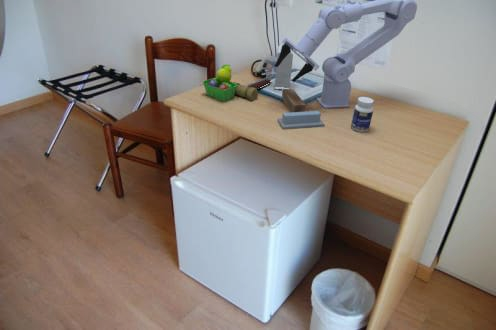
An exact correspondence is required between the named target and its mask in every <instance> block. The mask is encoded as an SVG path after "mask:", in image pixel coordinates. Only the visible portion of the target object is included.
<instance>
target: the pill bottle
mask: <svg viewBox="0 0 496 330" xmlns="http://www.w3.org/2000/svg"><path fill="white" fill-rule="evenodd" d="M373 105H374V99H373V98H370V97H367V96H359V97H358V99H357V104H356V105H355V106H354V110H353V115H352V120H351V124H350V126H351V129H352V130H353V131H355V132H359V133H366V132H368V131H369V130H370V126H371V123H372V119H373V113H374V107H373Z"/></svg>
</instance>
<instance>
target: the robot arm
mask: <svg viewBox="0 0 496 330" xmlns="http://www.w3.org/2000/svg"><path fill="white" fill-rule="evenodd" d="M417 9H418V3H417V2H416V1H415V0H371V1H369V2H366V3H362V4H361V3H360V2H359V1H355V0H350V1H349V3H345V4H341V5H340V4H336V5H335V6H334V7H333V6H325V7H324V8H323V9H320V10H319V12H318V17H317V19H316V21H315V22H314V24H313V25H312V26H311V27H310V28H309V29H308V31H307V32H306V33H305V34H304V36H303V37H302V38H301V39H300V41H299V42H298V43H297V44H294V43H293V42H292V41H291V40H290V39H288V38H287V37H284V39H283V40H282V43H283V44H282V45H281V46H282V49H281V52H280V55H279V58H278V60H277V59H276V62H275V64H274V67H275V68H276V67H278V66H279V65H280V64H281V62H282V61H283V60H284V58H285V57H286V56H287V55H288V54H289V53H290V52H291V50H292V51H293V54H295V55H296V56H298V57H299V58H300V59H301V60H302V61H304V62H305V63H304V65H303V66H302V68H301V69H300V70H299V72H297V74H296V75H294V77H293V78H292V80H291V82H293V83H295V82H296V81H297V80H298V79H300V78H301V77H303V76H305V75H306V74H309V73H310V72H313V71H315V72H316V71H317V70H318V69H319V68H320V65H319V64H318V63H317V62H315V60H313V58H311V56H312V55H313V53H315V51H316V50H317V49H318V48H319V46H320V45H321V44H322V43H323V42H324V40H325V39H326V38H327V37H328V36H329V34H331V32H332V31H333V30H338V29H339V28H340V27H341V26H342V25H345V24H348V23H353V22H358V21H361V19H362V17H363V16H366V15H371V14H377V13H383V12H384V17H383V18H384V24H383V25H382V26H381V27H379V28H378V29H377V30H376V31H374V32H373V33H371V34H370V35H368V36H367V37H365V38H364V39H363V40H361V41H360V42H359V43H357V44H355V45H354V46H353V47H352V48H350V49H349V50H347V51H346V52H342V53H337V54H335V55H334V56H330V57H328V58H326V59H324V60H323V63H322V65H321V70H322V73H324V77H323V82H322V89H321V97H316V100H317V101H318V103H319V104H320V105H321V106H322V107H323V109H333V108H348V107H350V103H349V101H350V97H351V92H352V84H351V81H350V79H349V77H350V76H351V75H352V74H354V73H355V71H356V66H357V65H358V64H359V63H360V62H362V61H363V60H365V59H366V58H368V57H369V56H371V55H372V54H373V53H375V52H377V51H378V50H379V49H380V48H382V47H384V46H386V44H387V43H389V42H390V41H392V40H393V39H395V38H396V37H397V36H399V35H400V34H401V32H402V31H403V30H404V28H405V27H406V25H408V24H409V23H410V22H412V21H413V20H414V19H415V17H416V13H417ZM290 49H291V50H290ZM301 55H302V56H301Z"/></svg>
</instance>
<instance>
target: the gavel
mask: <svg viewBox="0 0 496 330" xmlns="http://www.w3.org/2000/svg"><path fill="white" fill-rule="evenodd" d="M271 80H272V79H267V78H266V79H264V80H261V81H258V82H256V83H252V84H249V85H248V86H246V85H242V84H240V83H239V82H236V81H234V82H232V83H235V84H237V85H238V86H237V88H236V91H235V94H234V96H236V95H237V96H239V97H242V98H245V99H247V100H249V101H255V100H257V98H258V95H259V89H258V88H260V87H262V86H264V85H266V84H268V83H270V81H271ZM270 84H271V83H270ZM257 89H258V90H257Z"/></svg>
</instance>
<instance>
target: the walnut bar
mask: <svg viewBox="0 0 496 330" xmlns="http://www.w3.org/2000/svg"><path fill="white" fill-rule="evenodd" d="M281 91H282V94H281V99H282V98H283V102H282V104H283V105H284V107H285V108H286V109H287V111H288V113H292V112H306V107H307V105H306V103H305V102H304V100H303V99H302V98H301V97H300V96H299V95H298V93H297V92H296V91H295V89H294V88H289V89H283V90H281Z"/></svg>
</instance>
